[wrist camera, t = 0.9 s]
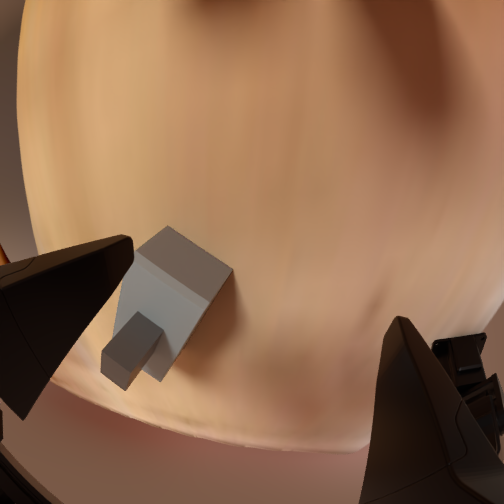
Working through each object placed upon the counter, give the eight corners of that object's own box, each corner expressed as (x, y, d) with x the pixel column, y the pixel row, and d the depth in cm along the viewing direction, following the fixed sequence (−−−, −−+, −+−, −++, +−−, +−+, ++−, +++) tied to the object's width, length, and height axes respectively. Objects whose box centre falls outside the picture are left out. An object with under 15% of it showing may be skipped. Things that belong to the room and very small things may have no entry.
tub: (183, 348, 35) (164, 376, 31) (137, 316, 35) (115, 341, 31) (233, 269, 26) (209, 302, 22) (167, 225, 26) (135, 250, 22)
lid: (164, 376, 31) (138, 416, 26) (115, 341, 31) (85, 377, 26) (209, 302, 22) (168, 362, 17) (135, 250, 22) (81, 295, 17)
